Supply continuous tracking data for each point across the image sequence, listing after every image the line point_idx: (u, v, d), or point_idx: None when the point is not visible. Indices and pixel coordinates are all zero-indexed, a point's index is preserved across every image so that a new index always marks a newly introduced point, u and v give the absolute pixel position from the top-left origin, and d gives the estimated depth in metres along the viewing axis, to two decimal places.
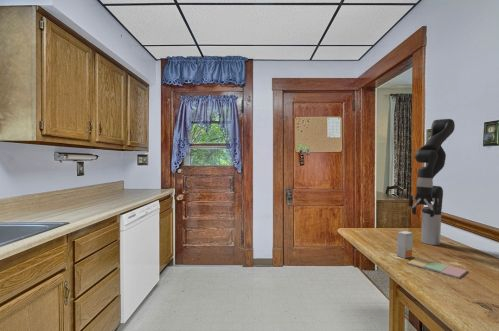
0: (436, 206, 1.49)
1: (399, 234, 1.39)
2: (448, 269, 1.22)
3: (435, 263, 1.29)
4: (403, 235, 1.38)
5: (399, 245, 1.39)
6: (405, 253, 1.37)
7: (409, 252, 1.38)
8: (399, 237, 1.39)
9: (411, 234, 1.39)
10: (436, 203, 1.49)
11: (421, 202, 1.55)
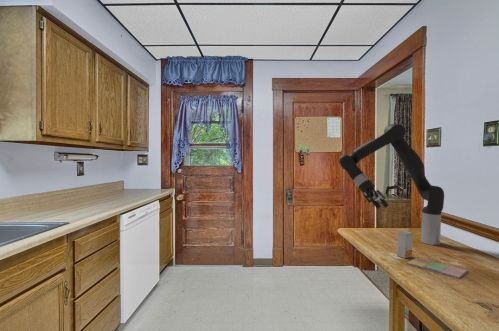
0: None
1: (399, 234, 1.39)
2: (448, 269, 1.22)
3: (435, 263, 1.29)
4: (403, 235, 1.38)
5: (399, 245, 1.39)
6: (405, 253, 1.37)
7: (409, 252, 1.38)
8: (399, 237, 1.39)
9: (411, 234, 1.39)
10: (366, 197, 1.50)
11: None
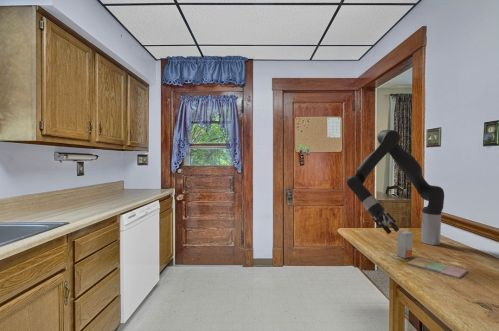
0: None
1: (399, 234, 1.39)
2: (448, 269, 1.22)
3: (435, 263, 1.29)
4: (403, 235, 1.38)
5: (399, 245, 1.39)
6: (405, 253, 1.37)
7: (409, 252, 1.38)
8: (399, 237, 1.39)
9: (411, 234, 1.39)
10: None
11: None
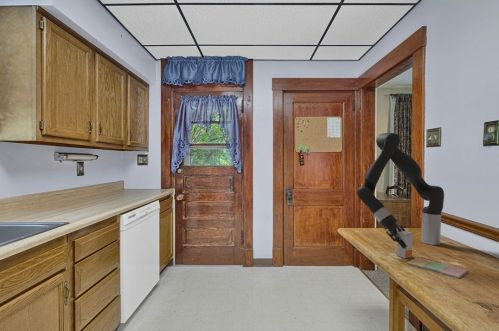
0: (392, 238, 1.39)
1: None
2: (448, 269, 1.22)
3: (435, 263, 1.29)
4: (403, 235, 1.38)
5: (399, 245, 1.39)
6: (405, 253, 1.37)
7: (409, 252, 1.38)
8: None
9: (411, 234, 1.39)
10: (390, 236, 1.39)
11: None
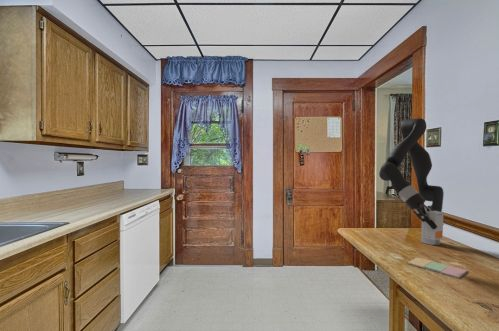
0: (420, 218, 1.25)
1: None
2: (448, 269, 1.22)
3: (435, 263, 1.29)
4: (433, 215, 1.24)
5: (428, 226, 1.26)
6: (435, 235, 1.24)
7: (439, 233, 1.25)
8: None
9: (442, 214, 1.25)
10: (418, 215, 1.26)
11: None
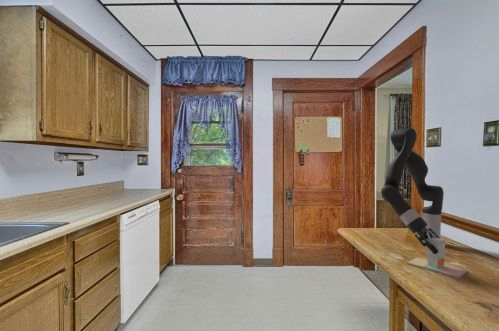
0: None
1: None
2: (448, 269, 1.22)
3: None
4: (435, 242, 1.24)
5: (430, 254, 1.25)
6: (437, 263, 1.23)
7: (441, 261, 1.24)
8: None
9: (443, 241, 1.25)
10: (419, 240, 1.25)
11: None
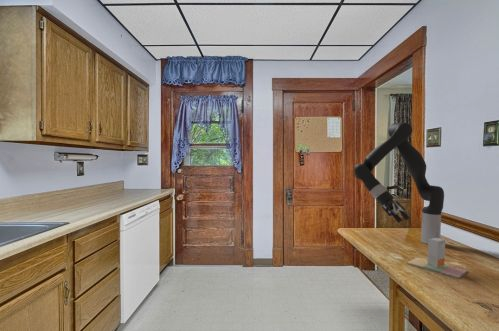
0: (387, 213, 1.39)
1: (430, 241, 1.25)
2: (448, 269, 1.22)
3: None
4: (435, 243, 1.24)
5: (430, 254, 1.25)
6: (437, 263, 1.23)
7: (441, 261, 1.24)
8: (430, 245, 1.25)
9: (443, 241, 1.25)
10: (385, 210, 1.40)
11: None
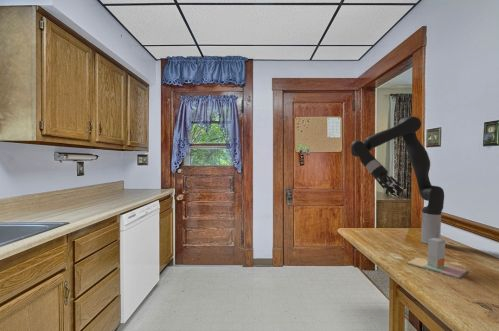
0: (381, 185, 1.45)
1: (430, 241, 1.25)
2: (448, 269, 1.22)
3: None
4: (435, 242, 1.24)
5: (430, 254, 1.25)
6: (437, 263, 1.23)
7: (441, 261, 1.24)
8: (430, 245, 1.25)
9: (443, 241, 1.25)
10: None
11: None
